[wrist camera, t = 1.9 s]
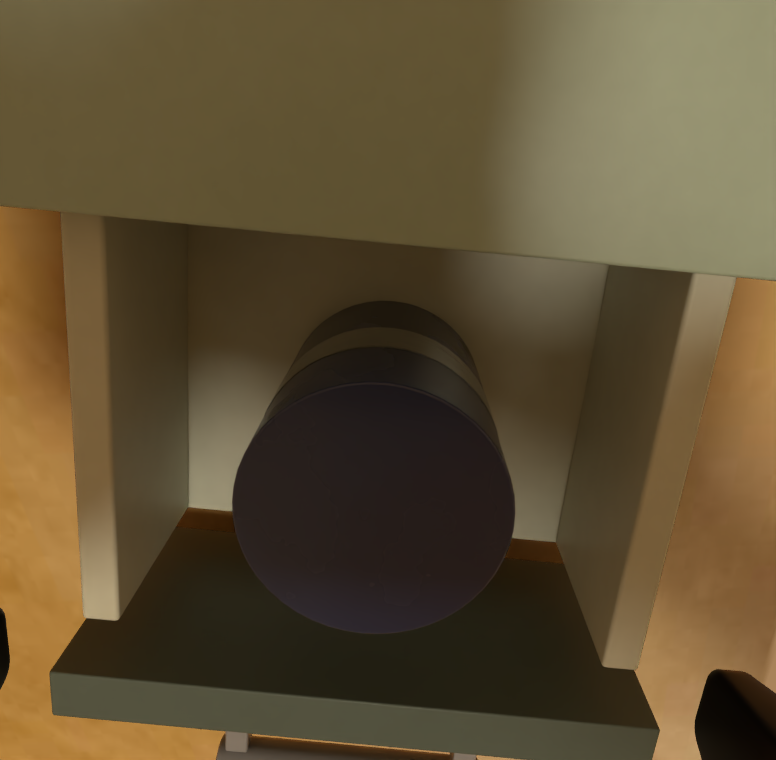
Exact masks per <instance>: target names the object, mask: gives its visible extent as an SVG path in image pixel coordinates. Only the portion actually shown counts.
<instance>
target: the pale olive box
mask: <svg viewBox="0 0 776 760" xmlns="http://www.w3.org/2000/svg"><path fill="white" fill-rule="evenodd" d="M0 206H6V207H16V208H26V209H37V210H47V211H57V212H68V213H78V214H88V215H99V216H109V217H119V218H130V219H140V220H150V221H161V222H171V223H181V224H192V225H202V226H212V227H223V228H233V229H243V230H254V231H264V232H274V233H285V234H295V235H305V236H316V237H326V238H336V239H347V240H357V241H367V242H378V243H388V244H398V245H409V246H419V247H429V248H440V249H450V250H460V251H471V252H481V253H491V254H502V255H512V256H523V257H533V258H543V259H554V260H564V261H574V262H585V263H595V264H605V265H616V266H626V267H636V268H647V269H657V270H667V271H678V272H688V273H698V274H709V275H719V276H729V277H740V278H750V279H760V280H771V281H776V0H0Z"/></svg>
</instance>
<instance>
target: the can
mask: <svg viewBox="0 0 776 760" xmlns="http://www.w3.org/2000/svg"><path fill="white" fill-rule="evenodd" d="M232 513H233V522H234V527H235V532H236V536H237V539H238V542H239V545H240V547H241V550H242V552H243V554H244V556H245V558H246V560H247V562H248V564H249V566H250V567H251V569H252V570H253V572H254V573H255V575H256V576H257V578H258V579H259V580H260V581H261V582H262V583H263V585H264V586H265V587H266V588H267V589H268V590H269V591H270V592H271V593H272V594H273V595H274V596H275V597H277V598H278V599H279V600H280V601H281V602H282V603H284V604H285V605H287V606H288V607H290V608H291V609H293V610H294V611H296V612H297V613H299V614H301V615H303V616H305V617H307V618H309V619H311V620H313V621H315V622H318V623H320V624H323V625H326V626H328V627H332V628H336V629H340V630H344V631H350V632H356V633H366V634H386V633H398V632H404V631H409V630H414V629H417V628H421V627H424V626H427V625H430V624H433V623H435V622H437V621H440V620H442V619H444V618H446V617H448V616H450V615H451V614H453V613H455V612H457V611H458V610H460V609H461V608H463V607H464V606H465V605H467V604H468V603H469V602H470V601H472V600H473V599H474V598H475V597H476V596H477V595H478V594H479V593H480V592H481V591H482V590H483V589H484V588H485V587H486V586H487V585H488V583H489V582H490V581H491V579H492V578H493V577H494V576H495V574H496V572H497V571H498V569H499V567H500V566H501V564H502V562H503V560H504V558H505V556H506V553H507V551H508V548H509V546H510V543H511V538H512V534H513V530H514V522H515V495H514V490H513V486H512V481H511V477H510V474H509V470H508V467H507V464H506V461H505V458H504V454H503V451H502V448H501V445H500V442H499V437H498V432H497V429H496V425H495V422H494V419H493V416H492V413H491V410H490V406H489V404H488V401H487V398H486V395H485V393H484V390H483V387H482V384H481V381H480V377H479V374H478V371H477V368H476V365H475V362H474V359H473V357H472V355H471V353H470V351H469V349H468V347H467V345H466V344H465V343H464V341H463V340H462V338H461V337H460V336H459V335H458V333H457V332H456V331H455V330H454V329H453V328H452V327H451V326H450V325H448V324H447V323H446V322H445V321H444V320H442V319H441V318H439V317H438V316H436V315H434V314H433V313H431V312H429V311H427V310H425V309H422V308H420V307H418V306H414V305H411V304H408V303H402V302H396V301H372V302H365V303H361V304H357V305H353V306H351V307H348V308H345V309H343V310H341V311H339V312H337V313H335V314H333V315H332V316H330V317H329V318H328V319H326V320H325V321H323V322H322V323H321V324H320V325H319V326H318V327H317V328H316V329H315V330H314V331H313V332H312V333H311V334H310V335H309V337H308V338H307V339H306V340H305V342H304V344H303V345H302V347H301V349H300V350H299V352H298V354H297V356H296V358H295V360H294V362H293V363H292V365H291V367H290V369H289V371H288V373H287V374H286V376H285V377H284V379H283V381H282V382H281V384H280V386H279V388H278V389H277V391H276V393H275V395H274V397H273V399H272V400H271V402H270V404H269V406H268V408H267V410H266V412H265V415H264V417H263V419H262V421H261V423H260V425H259V427H258V429H257V430H256V432H255V434H254V436H253V438H252V440H251V442H250V443H249V445H248V447H247V449H246V451H245V453H244V455H243V457H242V460H241V462H240V465H239V467H238V469H237V473H236V477H235V481H234V486H233V496H232Z"/></svg>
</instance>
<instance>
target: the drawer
mask: <svg viewBox="0 0 776 760" xmlns="http://www.w3.org/2000/svg"><path fill="white" fill-rule="evenodd" d="M60 217H61V234H62V252H63V269H64V287H65V304H66V322H67V339H68V357H69V374H70V392H71V409H72V426H73V444H74V461H75V479H76V496H77V514H78V531H79V549H80V566H81V583H82V601H83V615H84V617H85V618H86V620H85V621H84V623H83V624H82V626H81V627H80V628H79V630H78V631H77V633H76V634H75V636H74V637H73V639H72V640H71V642H70V643H69V645H68V646H67V647H66V649H65V650H64V652H63V653H62V655H61V656H60V658H59V659H58V661H57V662H56V664H55V665H54V666H53V668H52V669H51V671H50V687H51V699H52V712H53V715H59V716H69V717H80V718H90V719H101V720H112V721H122V722H133V723H143V724H154V725H165V726H175V727H186V728H196V729H207V730H217V731H226V734H224V735H223V737H222V739H221V742H220V745H219V749H218V753H217V757H216V760H478V759H477V758H476V755H482V756H493V757H503V758H514V759H524V760H652V757H653V754H654V750H655V746H656V743H657V739H658V736H659V732H660V729H659V727H658V725H657V722H656V720H655V718H654V715H653V713H652V711H651V708H650V706H649V704H648V702H647V699H646V697H645V695H644V692H643V690H642V688H641V685H640V683H639V681H638V678H637V676H636V674H635V671H634V670H636V669H637V668H638V664H639V661H640V657H641V653H642V649H643V645H644V641H645V637H646V633H647V629H648V625H649V621H650V617H651V613H652V609H653V605H654V601H655V598H656V594H657V590H658V586H659V582H660V578H661V574H662V570H663V566H664V562H665V558H666V554H667V550H668V546H669V542H670V538H671V534H672V531H673V527H674V523H675V519H676V515H677V511H678V507H679V503H680V499H681V495H682V491H683V487H684V483H685V479H686V475H687V471H688V467H689V464H690V460H691V456H692V452H693V448H694V444H695V440H696V436H697V432H698V428H699V424H700V420H701V416H702V412H703V408H704V404H705V400H706V397H707V393H708V389H709V385H710V381H711V377H712V373H713V369H714V365H715V361H716V357H717V353H718V349H719V345H720V341H721V337H722V334H723V330H724V326H725V322H726V318H727V314H728V310H729V306H730V302H731V298H732V294H733V290H734V286H735V282H736V278H737V277H729V276H719V275H709V274H698V273H688V272H678V271H667V270H657V269H647V268H636V267H626V266H616V265H605V264H595V263H585V262H574V261H564V260H554V259H543V258H533V257H523V256H512V255H502V254H491V253H481V252H471V251H460V250H450V249H440V248H429V247H419V246H409V245H398V244H388V243H378V242H367V241H357V240H347V239H336V238H326V237H316V236H305V235H295V234H285V233H274V232H264V231H254V230H243V229H233V228H223V227H212V226H202V225H192V224H181V223H171V222H161V221H150V220H140V219H130V218H119V217H109V216H99V215H88V214H78V213H68V212H60ZM372 301H396V302H402V303H408V304H411V305H414V306H418V307H420V308H422V309H425V310H427V311H429V312H431V313H433V314H434V315H436V316H438V317H439V318H441V319H442V320H444V321H445V322H446V323H447V324H448V325H450V326H451V327H452V328H453V329H454V330H455V331H456V332H457V333H458V335H459V336H460V337H461V338H462V340H463V341H464V343H465V344H466V345H467V347H468V349H469V351H470V353H471V355H472V357H473V359H474V362H475V365H476V368H477V371H478V374H479V377H480V381H481V384H482V387H483V390H484V393H485V395H486V398H487V401H488V404H489V406H490V410H491V413H492V416H493V419H494V422H495V425H496V429H497V432H498V437H499V442H500V445H501V448H502V451H503V454H504V458H505V461H506V464H507V467H508V470H509V474H510V477H511V481H512V486H513V490H514V495H515V522H514V530H513V534H512V538H515V539H526V540H536V541H547V542H556V544H557V546H558V549H559V552H560V554H561V557H562V560H563V562H564V564H560V563H550V562H539V561H529V560H518V559H508V558H504V560H503V562H502V564H501V566H500V567H499V569H498V571H497V572H496V574H495V576H494V577H493V578H492V579H491V581H490V582H489V583H488V585H487V586H486V587H485V588H484V589H483V590H482V591H481V592H480V593H479V594H478V595H477V596H476V597H475V598H474V599H473V600H472V601H470V602H469V603H468V604H467V605H465V606H464V607H463V608H461V609H460V610H458V611H457V612H455V613H453V614H451V615H450V616H448V617H446V618H444V619H442V620H440V621H437V622H435V623H433V624H430V625H427V626H424V627H421V628H417V629H414V630H409V631H404V632H398V633H386V634H366V633H356V632H350V631H344V630H340V629H336V628H332V627H328V626H326V625H323V624H320V623H318V622H315V621H313V620H311V619H309V618H307V617H305V616H303V615H301V614H299V613H297V612H296V611H294V610H293V609H291V608H290V607H288V606H287V605H285V604H284V603H282V602H281V601H280V600H279V599H278V598H277V597H275V596H274V595H273V594H272V593H271V592H270V591H269V590H268V589H267V588H266V587H265V586H264V585H263V583H262V582H261V581H260V580H259V579H258V578H257V576H256V575H255V573H254V572H253V570H252V569H251V567H250V566H249V564H248V562H247V560H246V558H245V556H244V554H243V552H242V550H241V547H240V545H239V542H238V539H237V536H236V533H235V532H225V531H214V530H204V529H193V528H183V527H176V526H177V524H178V522H179V521H180V519H181V518H182V516H183V514H184V513H185V511H186V509H187V507H191V508H201V509H212V510H222V511H232V496H233V486H234V481H235V477H236V473H237V469H238V467H239V465H240V462H241V460H242V457H243V455H244V453H245V451H246V449H247V447H248V445H249V443H250V442H251V440H252V438H253V436H254V434H255V432H256V430H257V429H258V427H259V425H260V423H261V421H262V419H263V417H264V415H265V412H266V410H267V408H268V406H269V404H270V402H271V400H272V399H273V397H274V395H275V393H276V391H277V389H278V388H279V386H280V384H281V382H282V381H283V379H284V377H285V376H286V374H287V373H288V371H289V369H290V367H291V365H292V363H293V362H294V360H295V358H296V356H297V354H298V352H299V350H300V349H301V347H302V345H303V344H304V342H305V340H306V339H307V338H308V337H309V335H310V334H311V333H312V332H313V331H314V330H315V329H316V328H317V327H318V326H319V325H320V324H321V323H322V322H323V321H325V320H326V319H328V318H329V317H330V316H332V315H333V314H335V313H337V312H339V311H341V310H343V309H345V308H348V307H351V306H353V305H357V304H361V303H365V302H372ZM252 734H260V735H270V736H281V737H291V738H302V739H313V740H323V741H334V742H344V743H355V744H366V745H376V746H387V747H397V748H408V749H418V750H429V751H440V752H450V754H439V753H429V752H418V751H408V750H397V749H387V748H376V747H365V746H355V745H344V744H334V743H323V742H312V741H302V740H291V739H281V738H270V737H260V736H252Z"/></svg>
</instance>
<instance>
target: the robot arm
mask: <svg viewBox="0 0 776 760" xmlns="http://www.w3.org/2000/svg"><path fill="white" fill-rule="evenodd" d="M9 663H10V655H9V646H8V637H7V627H6V618H5V614H4V612H3V610H2V609H1V608H0V689H1V687H2V685H3V683H4V681H5V679H6V676H7V673H8V670H9ZM695 736H696V741H697V744H698V748H699V751H700V755H701V758H702V760H776V693H774V692H773V691H771V690H770V689H769V688H767V687H766V686H765V685H763V684H762V683H761V682H759V681H758V680H756V679H755V678H754V677H752V676H751V675H749V674H748V673H746V672H742V671H733V670H721V669H716V670H713V671H712V672H711V673H710V674H709V675H708V678H707V680H706V684H705V687H704V691H703V694H702V698H701V701H700V704H699V708H698V711H697V715H696V719H695Z"/></svg>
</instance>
